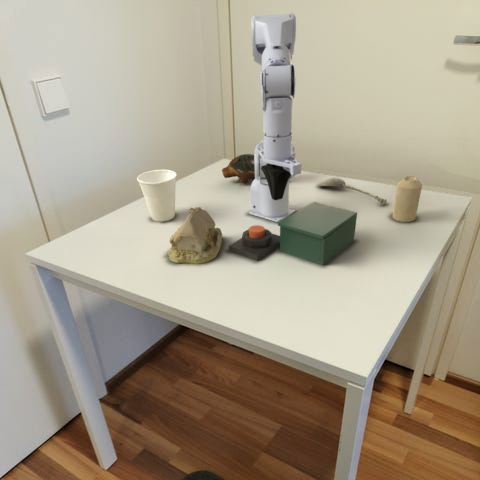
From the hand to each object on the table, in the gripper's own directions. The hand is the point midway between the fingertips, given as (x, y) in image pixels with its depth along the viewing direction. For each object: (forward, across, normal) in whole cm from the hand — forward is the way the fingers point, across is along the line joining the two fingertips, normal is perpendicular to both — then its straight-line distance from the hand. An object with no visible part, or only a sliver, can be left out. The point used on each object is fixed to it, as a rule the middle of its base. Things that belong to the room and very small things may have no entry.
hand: (277, 198), depth 99 cm
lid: (+4, -7, -6) cm, 10 cm away
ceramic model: (+11, +6, +18) cm, 21 cm away
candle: (+10, -7, -33) cm, 35 cm away
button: (+8, 0, +5) cm, 9 cm away
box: (+10, -7, -6) cm, 14 cm away
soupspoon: (+10, +12, -32) cm, 36 cm away
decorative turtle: (+6, +38, -14) cm, 41 cm away
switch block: (+10, 0, +5) cm, 12 cm away
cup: (+10, +28, +18) cm, 35 cm away
